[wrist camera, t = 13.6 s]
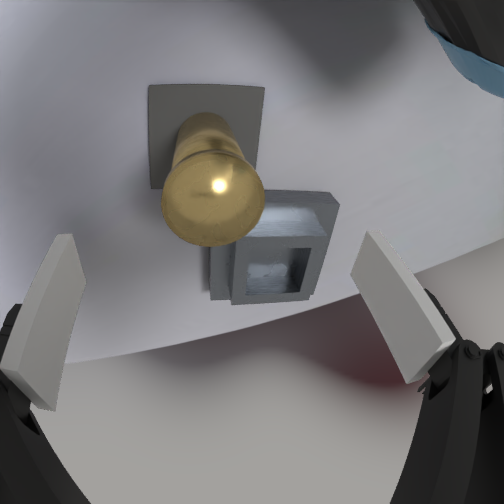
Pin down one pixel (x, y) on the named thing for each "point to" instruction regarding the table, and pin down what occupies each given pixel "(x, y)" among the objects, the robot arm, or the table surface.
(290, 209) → the housing
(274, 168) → the table surface
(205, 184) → the brass flared knob
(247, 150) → the mat
